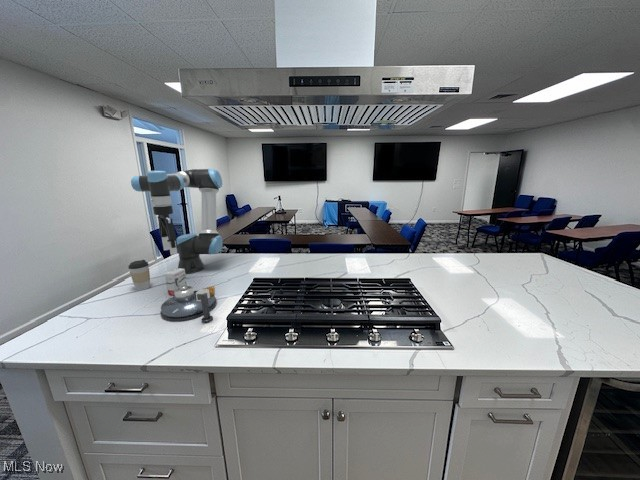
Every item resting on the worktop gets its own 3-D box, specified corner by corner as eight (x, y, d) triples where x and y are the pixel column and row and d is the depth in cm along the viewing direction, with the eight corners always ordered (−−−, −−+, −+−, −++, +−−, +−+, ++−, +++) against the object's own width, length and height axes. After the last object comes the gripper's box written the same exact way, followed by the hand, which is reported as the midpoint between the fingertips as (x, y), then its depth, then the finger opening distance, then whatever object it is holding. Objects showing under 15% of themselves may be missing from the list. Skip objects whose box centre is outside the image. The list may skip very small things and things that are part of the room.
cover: (182, 293, 122) (181, 283, 120) (198, 294, 121) (196, 283, 120) (171, 301, 114) (169, 290, 113) (187, 302, 113) (185, 291, 112)
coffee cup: (138, 292, 131) (132, 265, 128) (129, 288, 136) (123, 262, 132) (156, 285, 139) (151, 260, 135) (147, 282, 143) (142, 258, 139)
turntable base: (183, 295, 127) (182, 293, 127) (225, 297, 125) (225, 295, 124) (147, 320, 105) (147, 318, 105) (198, 323, 102) (198, 321, 102)
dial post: (204, 315, 108) (200, 289, 105) (216, 316, 107) (212, 289, 104) (197, 322, 103) (192, 294, 100) (209, 323, 102) (205, 295, 99)
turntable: (183, 293, 127) (181, 282, 125) (224, 295, 124) (222, 283, 122) (149, 316, 105) (146, 304, 104) (197, 319, 103) (195, 306, 101)
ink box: (176, 295, 127) (172, 274, 124) (168, 295, 128) (164, 273, 125) (188, 288, 135) (185, 268, 132) (180, 287, 136) (177, 267, 133)
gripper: (146, 204, 119) (155, 249, 125) (160, 208, 104) (169, 258, 110) (164, 203, 125) (171, 246, 130) (179, 206, 109) (187, 254, 115)
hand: (170, 251), depth 120 cm, fingers open, 10 cm apart
